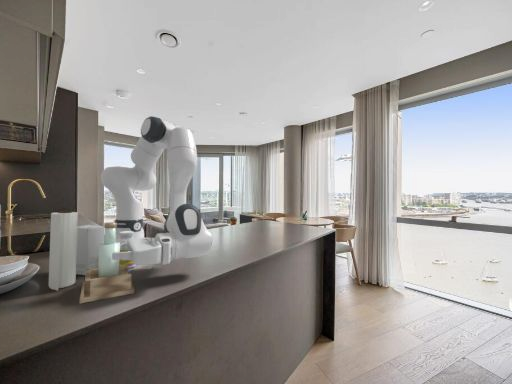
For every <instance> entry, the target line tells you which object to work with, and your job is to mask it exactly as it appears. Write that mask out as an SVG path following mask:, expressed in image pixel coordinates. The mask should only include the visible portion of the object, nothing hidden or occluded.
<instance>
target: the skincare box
mask: <svg viewBox="0 0 512 384" xmlns="http://www.w3.org/2000/svg"><path fill="white" fill-rule="evenodd" d="M104 235H105V228H104V225H103V226H102V225H91V224H90V225H89V224H85V225H78V226H77V254H76V275H80V276H86V270H87V269H95V268H98V261H99V244H101V243H104Z"/></svg>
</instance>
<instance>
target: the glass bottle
mask: <svg viewBox="0 0 512 384" xmlns="http://www.w3.org/2000/svg"><path fill="white" fill-rule="evenodd" d="M103 223H104V225H103V226H104V235H105V239H104V243H101V244H99V261H98V278H102V277H109V276H116V275H119V260H113V259H112V253H113V252H120V242H115V234H116V227H117V223H116V222H115V221H109V222H103Z"/></svg>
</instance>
